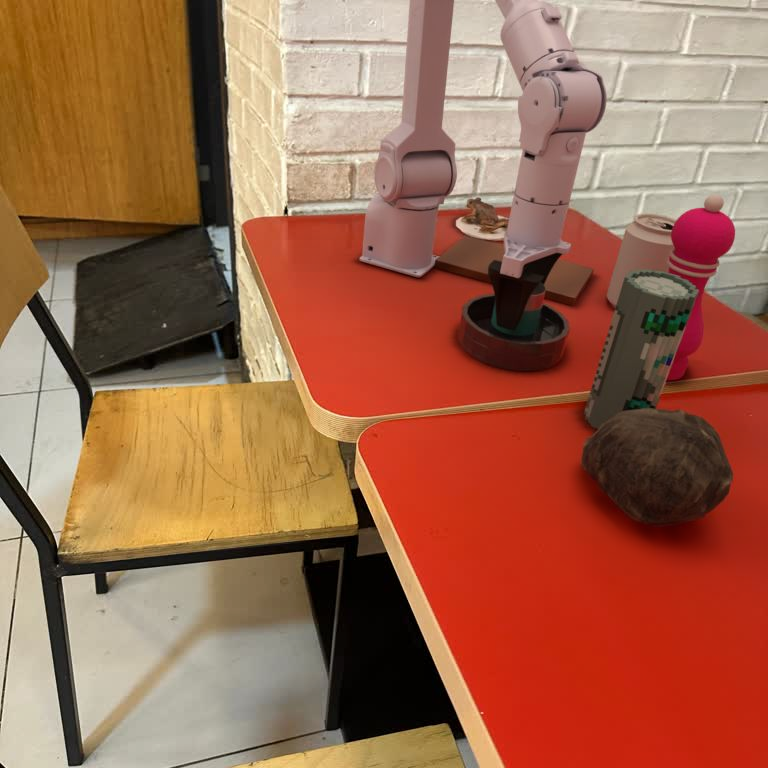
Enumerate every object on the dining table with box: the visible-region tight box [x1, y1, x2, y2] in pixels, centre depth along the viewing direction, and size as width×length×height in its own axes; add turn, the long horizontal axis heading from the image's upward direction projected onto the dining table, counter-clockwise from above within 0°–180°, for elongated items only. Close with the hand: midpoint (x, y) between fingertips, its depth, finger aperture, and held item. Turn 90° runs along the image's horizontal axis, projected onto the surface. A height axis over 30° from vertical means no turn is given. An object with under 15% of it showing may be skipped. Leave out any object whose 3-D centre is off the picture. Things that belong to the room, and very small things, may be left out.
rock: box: [581, 408, 734, 527], centre depth 57 cm, size 10×11×10 cm
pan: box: [457, 293, 571, 372], centre depth 80 cm, size 12×12×4 cm
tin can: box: [489, 282, 546, 341], centre depth 79 cm, size 5×5×7 cm
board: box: [433, 235, 595, 307], centre depth 99 cm, size 20×12×1 cm, turn 64°
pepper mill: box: [666, 194, 736, 381], centre depth 74 cm, size 7×7×20 cm
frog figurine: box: [455, 196, 509, 242], centre depth 113 cm, size 12×12×4 cm
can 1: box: [606, 213, 677, 309], centre depth 89 cm, size 8×8×12 cm
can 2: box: [583, 269, 699, 430], centre depth 65 cm, size 6×6×15 cm
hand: (516, 314), depth 79 cm, fingers open, 7 cm apart
